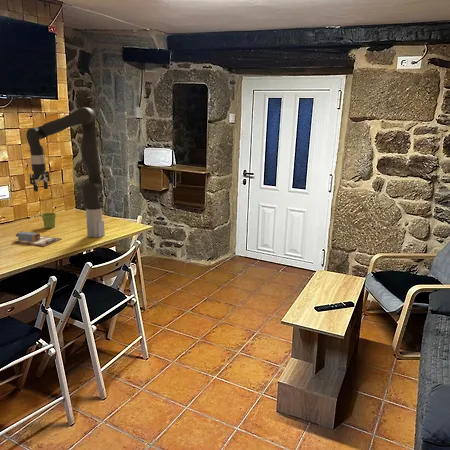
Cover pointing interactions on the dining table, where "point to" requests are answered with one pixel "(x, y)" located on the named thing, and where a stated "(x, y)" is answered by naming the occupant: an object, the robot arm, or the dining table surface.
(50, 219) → the plant pot
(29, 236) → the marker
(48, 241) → the clipboard
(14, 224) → the dining table surface
